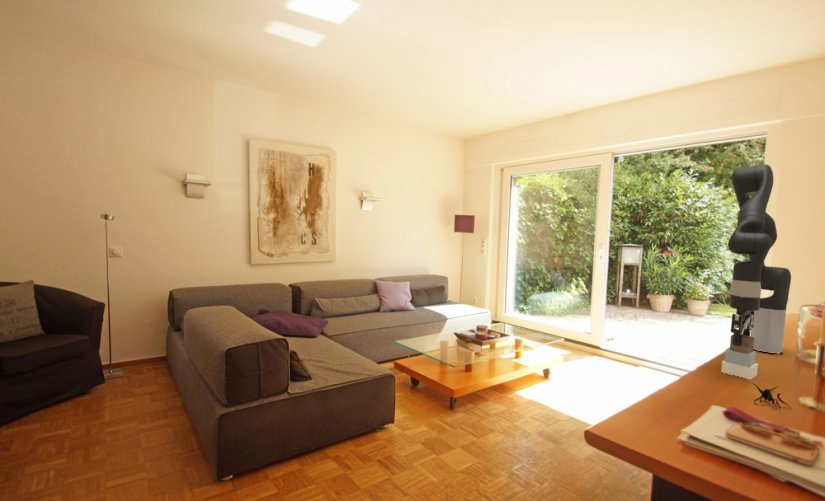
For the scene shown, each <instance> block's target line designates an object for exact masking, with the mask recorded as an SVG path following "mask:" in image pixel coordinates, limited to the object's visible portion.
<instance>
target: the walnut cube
mask: <svg viewBox="0 0 825 501" xmlns="http://www.w3.org/2000/svg"><path fill="white" fill-rule="evenodd" d="M729 342H730V344H729V348H730V350H732V351H737V352H741V353H746V354H749V353H751V352H753V351H754V350H753V347H754V337H751V335H750V336H746V335H743V336H742V345H741V346H735V345H733V334H732V335H730V341H729Z"/></svg>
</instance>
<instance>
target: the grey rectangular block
mask: <svg viewBox="0 0 825 501" xmlns="http://www.w3.org/2000/svg"><path fill="white" fill-rule="evenodd" d="M724 352H725V353H724V360H725V362H728V363H732V364H736V365H741V366H745V367H749V368H750V367H751V366H753V365H754V364H755V363H756V355H757V351H755V350H753V352H751V353H749V354H746V353H741V352H737V351H732V350H730V347H728V348H726V349H725V351H724Z"/></svg>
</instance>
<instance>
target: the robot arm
mask: <svg viewBox="0 0 825 501" xmlns="http://www.w3.org/2000/svg"><path fill="white" fill-rule="evenodd" d="M731 183H732V186H733V190H734V193H735V196H736V201H737V203H738V207H739V211H738V215H737V224H736V227H735V229H734V231H733V233H732V234H731V236H730V237H729V239H728V243H727V247H728V249H729V251H730V252H731V253H733V254H734V255H748V258H749V260H745V261H738V262H735V263H734V265H733V269H732V280H731V281H732V282H731V285H730V294H729V303H728V304H729V305H728V306H729V307H730V308H731V309H735V310H736V311H735V312H736V313H732V315H731V325H730V333H732V335H733V345H735V346H741V345H742V336H743V335H746V336H751V337H754V347H753V348H755V349H757V350H761V351H765V352H774V353H779V352H782V353H783V349H784V336H785V327H786V319H787V318H786V317H787V305H788V302H789V293H790V288H791V281H792V274H791V271H790V270H789V268H787V267H779V266H767V265H766V264H765V260H766V257H767V255H768V253H769V252H770V250H771V248H773V246H774V245H775V243H776V241H777V239H778V231H777V226H776V222H775V220H774V218H773V217H772V216H771V215H770V214H768V212H766V211H767V206H768V203H769V201H770V197H771V193H772V190H773V186H774V171H773V169H772V167H771V165H768V164H759V165H752V166H746V167H742V168H736V169H735V170H733V171H732V174H731ZM750 193H754V194H753V195H751V196H750ZM762 290H766V291H771V292H772V291H773V293H772V295H769V296H767V297H761V294H762Z"/></svg>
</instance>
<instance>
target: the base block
mask: <svg viewBox="0 0 825 501" xmlns="http://www.w3.org/2000/svg"><path fill="white" fill-rule="evenodd" d="M758 369H759V363H756V362H755V364H754V365H753V366H751V367H750V368H749V367H745V366H741V365H736V364H732V363H728V362H725V359H724V360H722V361H721V370H720V372H721V373H722V372H723V373H722V374H726V373H727V374H726V375H731V376H733V375H735V376H734V377H737V376H739V377H738V378H741V377H743V378H742V379H745V378H746V380H749V379H750V380H752V379H753V378H755V377H757V376H758Z"/></svg>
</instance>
